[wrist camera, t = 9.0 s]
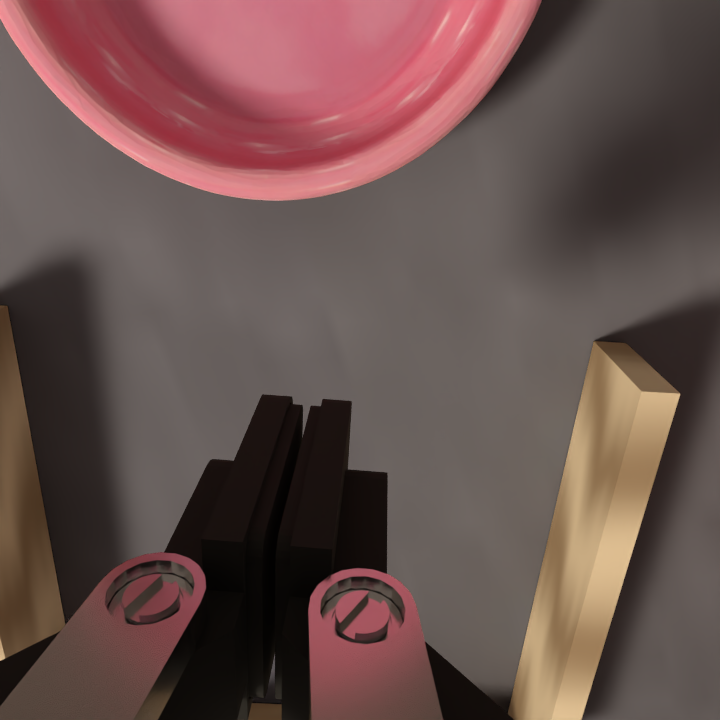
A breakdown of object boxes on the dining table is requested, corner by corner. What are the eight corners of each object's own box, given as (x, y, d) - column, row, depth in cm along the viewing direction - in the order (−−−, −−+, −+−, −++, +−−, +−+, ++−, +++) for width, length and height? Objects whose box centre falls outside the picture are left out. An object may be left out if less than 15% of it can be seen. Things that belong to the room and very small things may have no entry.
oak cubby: (-26, 303, 18) (-110, 346, 15) (625, 343, 18) (680, 393, 15) (57, 709, 25) (12, 797, 22) (526, 733, 26) (549, 823, 22)
